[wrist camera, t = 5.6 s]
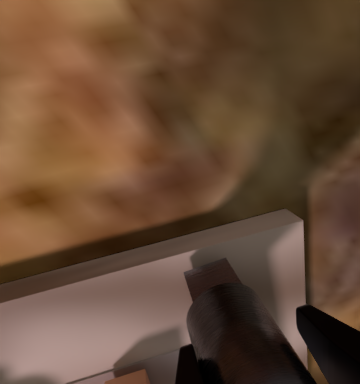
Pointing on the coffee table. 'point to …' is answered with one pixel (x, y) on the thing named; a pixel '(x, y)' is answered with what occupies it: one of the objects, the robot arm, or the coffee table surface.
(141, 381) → the terracotta cube
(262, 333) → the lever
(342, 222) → the coffee table surface
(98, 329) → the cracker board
